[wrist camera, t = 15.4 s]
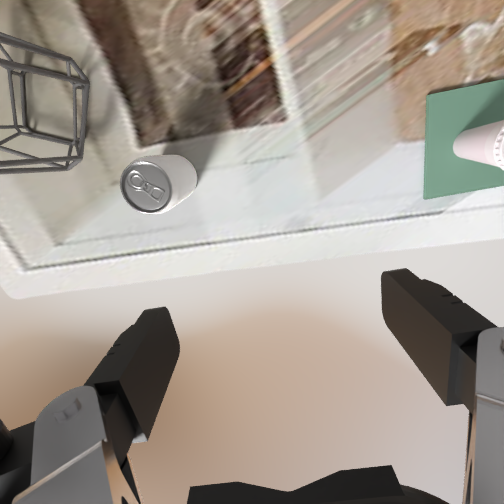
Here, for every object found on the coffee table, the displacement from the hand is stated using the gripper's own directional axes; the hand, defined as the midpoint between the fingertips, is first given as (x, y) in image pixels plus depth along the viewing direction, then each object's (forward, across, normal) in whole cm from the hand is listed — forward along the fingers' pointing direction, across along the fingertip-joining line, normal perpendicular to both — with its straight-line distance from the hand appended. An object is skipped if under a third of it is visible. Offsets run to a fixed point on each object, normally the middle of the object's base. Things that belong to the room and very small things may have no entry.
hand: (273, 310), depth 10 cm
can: (+33, +12, -4) cm, 36 cm away
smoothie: (+33, -29, -1) cm, 44 cm away
